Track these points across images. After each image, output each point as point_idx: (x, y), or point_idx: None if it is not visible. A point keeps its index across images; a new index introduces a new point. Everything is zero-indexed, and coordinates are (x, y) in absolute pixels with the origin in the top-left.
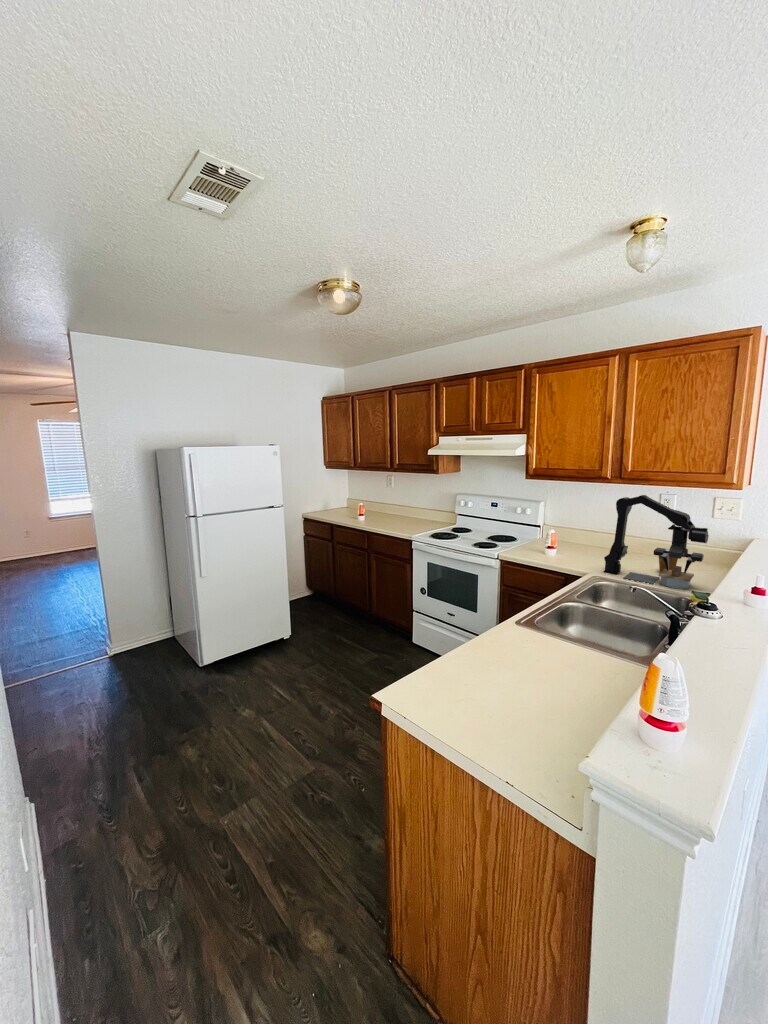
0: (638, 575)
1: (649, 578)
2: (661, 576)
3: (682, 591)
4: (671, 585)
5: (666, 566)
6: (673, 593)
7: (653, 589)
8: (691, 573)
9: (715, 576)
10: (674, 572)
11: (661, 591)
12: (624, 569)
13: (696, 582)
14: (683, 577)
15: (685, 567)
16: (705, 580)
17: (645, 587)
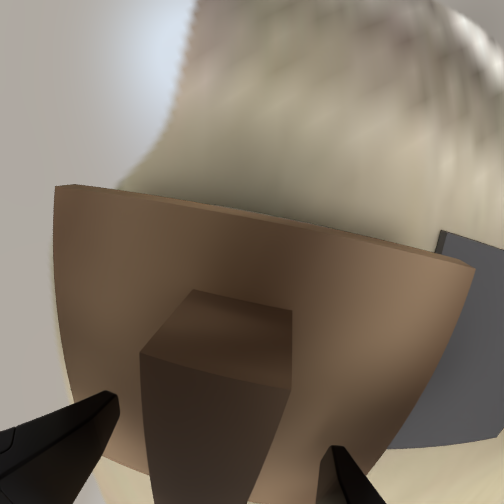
0: (486, 404)
1: (442, 381)
2: (429, 252)
3: (183, 127)
4: (283, 218)
5: (370, 494)
6: (263, 16)
7: (430, 59)
8: (105, 455)
9: (105, 500)
10: (238, 334)
11: (365, 25)
12: (486, 467)
13: None
14: (118, 267)
15: (45, 443)
16: (110, 466)
17: (486, 99)
